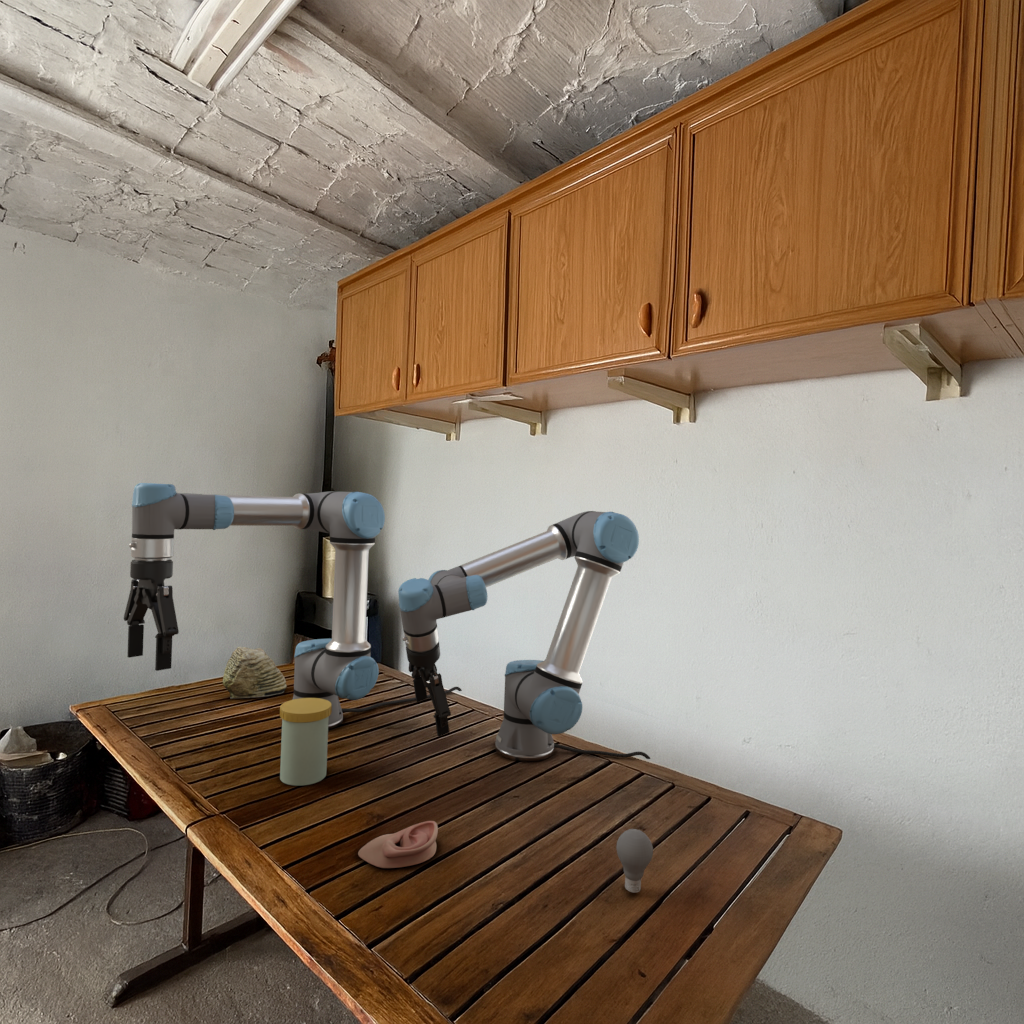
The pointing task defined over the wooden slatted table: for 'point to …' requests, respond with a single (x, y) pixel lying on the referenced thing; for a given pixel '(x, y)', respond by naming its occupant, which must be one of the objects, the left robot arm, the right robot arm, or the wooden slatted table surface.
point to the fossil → (252, 674)
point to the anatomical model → (402, 846)
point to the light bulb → (634, 857)
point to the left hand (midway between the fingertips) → (148, 662)
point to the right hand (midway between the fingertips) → (432, 716)
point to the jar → (304, 752)
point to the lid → (305, 710)
